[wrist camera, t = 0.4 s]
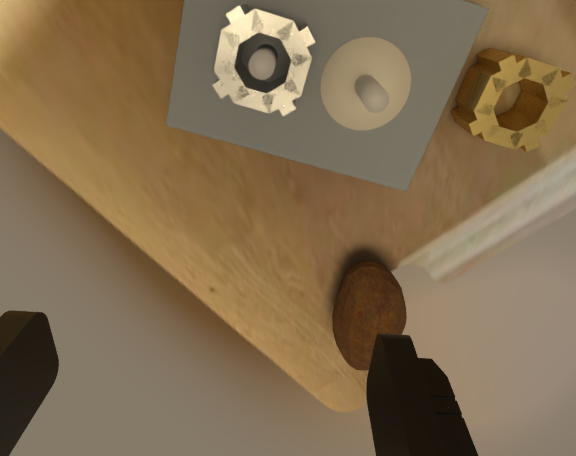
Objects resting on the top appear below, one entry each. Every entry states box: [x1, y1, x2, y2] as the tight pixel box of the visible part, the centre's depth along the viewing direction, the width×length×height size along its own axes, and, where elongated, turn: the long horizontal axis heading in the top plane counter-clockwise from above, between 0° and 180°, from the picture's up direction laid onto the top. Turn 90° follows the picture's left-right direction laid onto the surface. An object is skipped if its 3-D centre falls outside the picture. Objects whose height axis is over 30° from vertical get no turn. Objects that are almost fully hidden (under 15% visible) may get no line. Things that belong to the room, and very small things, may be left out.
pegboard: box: [166, 0, 489, 192], centre depth 30 cm, size 14×20×6 cm
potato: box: [333, 261, 406, 370], centre depth 39 cm, size 7×12×7 cm, turn 5°
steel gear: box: [213, 4, 315, 116], centre depth 29 cm, size 6×6×4 cm
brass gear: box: [451, 48, 575, 152], centre depth 31 cm, size 6×6×4 cm
